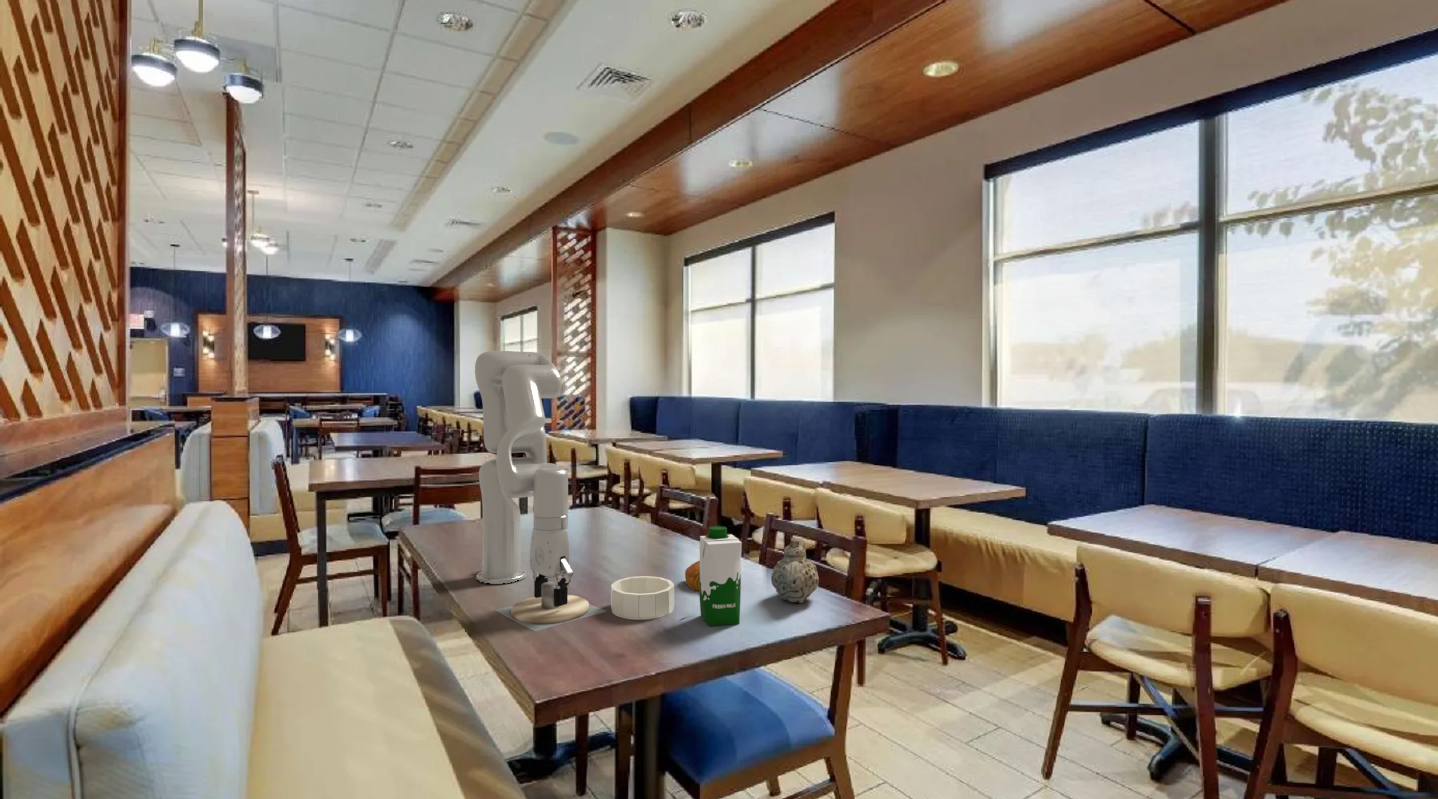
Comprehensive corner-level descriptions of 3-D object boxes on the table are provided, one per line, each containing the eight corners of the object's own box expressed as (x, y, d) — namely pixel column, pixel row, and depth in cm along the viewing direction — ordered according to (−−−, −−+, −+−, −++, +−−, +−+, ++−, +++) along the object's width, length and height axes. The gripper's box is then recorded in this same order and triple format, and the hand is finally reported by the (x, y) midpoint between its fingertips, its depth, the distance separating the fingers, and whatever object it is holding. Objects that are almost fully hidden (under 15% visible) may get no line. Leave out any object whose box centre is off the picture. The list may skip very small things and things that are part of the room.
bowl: (599, 610, 156) (599, 584, 155) (647, 597, 165) (647, 572, 165) (637, 626, 146) (637, 599, 145) (685, 611, 155) (686, 585, 155)
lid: (497, 610, 154) (497, 583, 153) (562, 593, 166) (562, 569, 165) (536, 630, 142) (536, 601, 141) (603, 611, 153) (603, 584, 153)
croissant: (741, 586, 183) (743, 555, 184) (737, 595, 168) (738, 562, 168) (688, 582, 185) (690, 552, 185) (679, 591, 169) (681, 559, 170)
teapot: (816, 615, 154) (817, 549, 154) (765, 611, 156) (766, 546, 156) (821, 587, 175) (822, 529, 174) (776, 584, 177) (777, 526, 177)
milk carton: (733, 611, 156) (733, 524, 155) (744, 625, 147) (745, 533, 147) (695, 614, 154) (696, 526, 153) (705, 628, 145) (706, 535, 144)
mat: (494, 612, 154) (494, 610, 154) (563, 595, 166) (563, 593, 166) (534, 634, 141) (535, 631, 141) (606, 613, 153) (606, 611, 153)
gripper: (516, 519, 157) (516, 595, 157) (556, 531, 144) (556, 614, 145) (545, 515, 162) (545, 588, 162) (586, 526, 149) (586, 606, 150)
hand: (550, 600), depth 153 cm, fingers open, 7 cm apart
